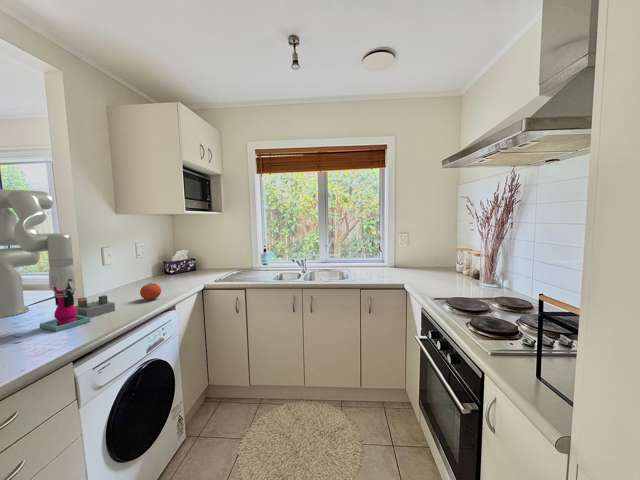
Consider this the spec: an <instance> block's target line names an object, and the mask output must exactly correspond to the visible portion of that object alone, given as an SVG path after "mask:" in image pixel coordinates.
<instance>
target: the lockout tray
mask: <svg viewBox="0 0 640 480" xmlns="http://www.w3.org/2000/svg"><path fill="white" fill-rule="evenodd" d="M75 318H76V320H77V321H74V322H71V323H67V324H64V325H60V326H57V321H58V320H57V319H56V318H55V319H52V320H47V321H44V322H43V321H42V322H39V329H42V330H46V331H49V332H54V333H59V332H62V331H65V330H68V329H71V328H75V327H78V326H82V325H86V324H88V323H91V318H90V317H85V316H80V315H76V316H75Z"/></svg>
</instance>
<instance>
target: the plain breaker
mask: <svg viewBox="0 0 640 480" xmlns="http://www.w3.org/2000/svg"><path fill="white" fill-rule="evenodd" d="M98 300H99V304H105V303H108V302H109V301H108V295H106V294H104V295H100V296H98Z"/></svg>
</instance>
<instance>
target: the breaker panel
mask: <svg viewBox="0 0 640 480" xmlns="http://www.w3.org/2000/svg"><path fill="white" fill-rule="evenodd" d="M74 306H75V308H76V309H77V314H76V315H80V316H85V317H90V319H91V318H94V317H98V316H102V315H105V314H108V313H111V312H115V311H116V305H115V302H112V301H108V303H105V304H99V299H98V300H94V301H91V302H87V306H83V307H80V306H78V305H74Z"/></svg>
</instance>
